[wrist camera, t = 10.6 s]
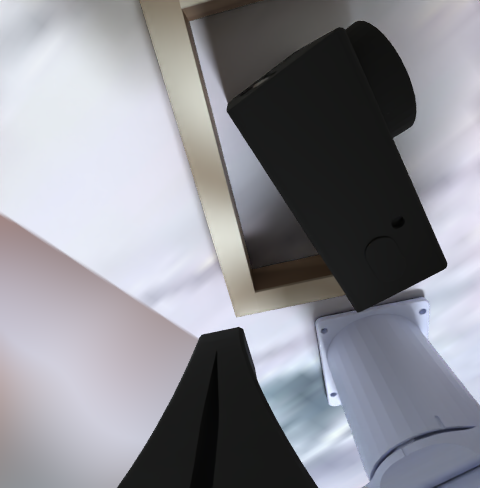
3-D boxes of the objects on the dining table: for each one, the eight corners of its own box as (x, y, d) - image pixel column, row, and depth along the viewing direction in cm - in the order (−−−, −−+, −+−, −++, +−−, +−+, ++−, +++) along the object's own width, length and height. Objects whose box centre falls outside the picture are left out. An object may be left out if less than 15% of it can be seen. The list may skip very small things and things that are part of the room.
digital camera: (398, 201, 19) (480, 256, 13) (319, 247, 20) (360, 317, 14) (319, 33, 15) (381, -6, 9) (227, 102, 16) (226, 111, 10)
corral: (396, 257, 21) (418, 280, 18) (235, 291, 22) (236, 317, 19) (392, -82, 13) (428, -119, 11) (147, -9, 14) (130, -30, 12)
